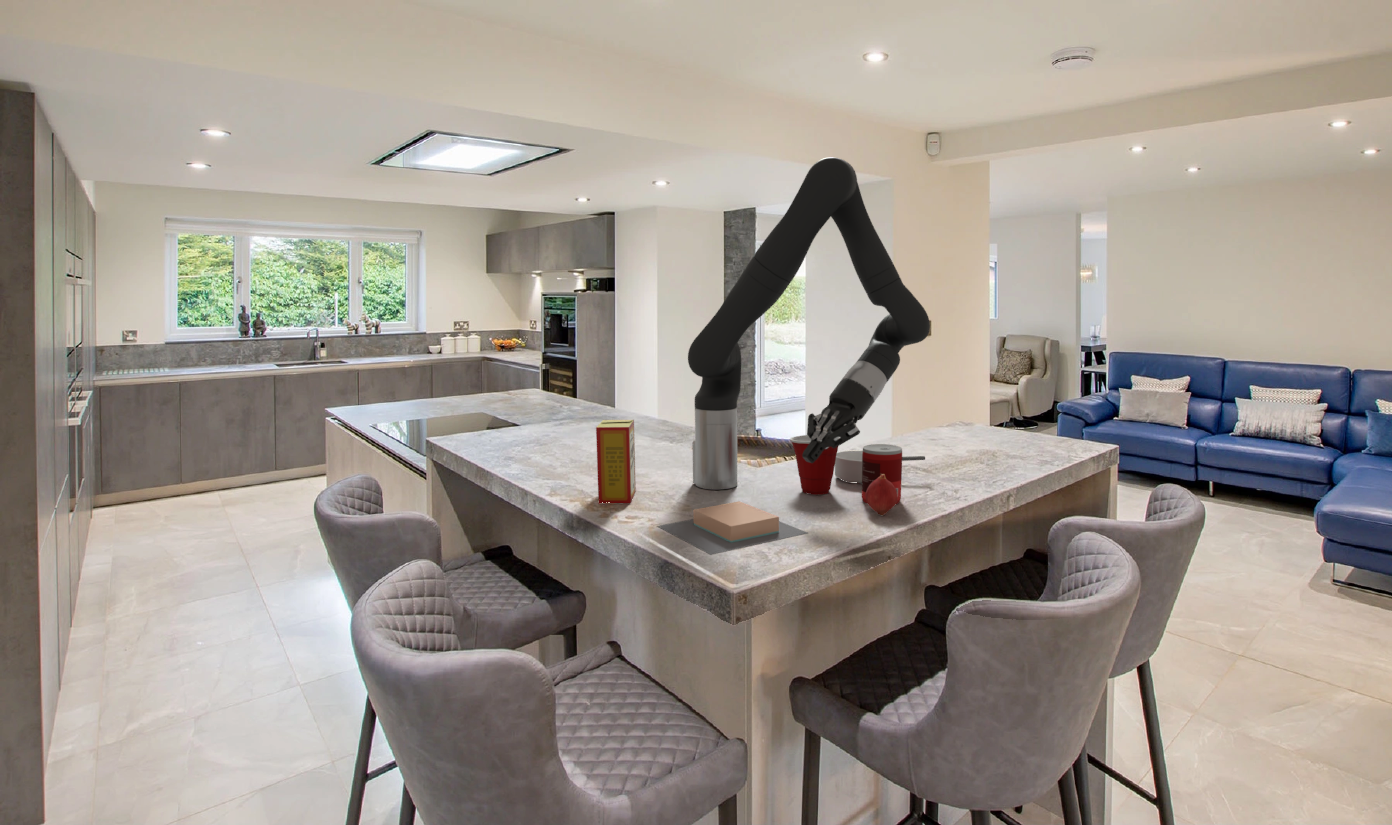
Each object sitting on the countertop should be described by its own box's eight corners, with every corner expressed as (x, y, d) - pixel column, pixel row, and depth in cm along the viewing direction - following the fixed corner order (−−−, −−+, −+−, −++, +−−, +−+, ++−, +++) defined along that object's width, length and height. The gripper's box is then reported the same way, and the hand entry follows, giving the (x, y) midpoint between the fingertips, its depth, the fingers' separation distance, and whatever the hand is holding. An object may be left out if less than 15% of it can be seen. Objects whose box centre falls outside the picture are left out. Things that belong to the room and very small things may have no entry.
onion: (858, 514, 141) (859, 473, 140) (877, 509, 145) (878, 468, 144) (884, 521, 137) (885, 478, 136) (903, 515, 140) (904, 473, 139)
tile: (739, 515, 140) (693, 524, 135) (739, 501, 139) (693, 509, 134) (778, 532, 130) (730, 542, 124) (778, 516, 129) (730, 526, 124)
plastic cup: (811, 482, 166) (812, 429, 164) (851, 491, 158) (852, 435, 156) (778, 491, 159) (778, 435, 157) (818, 501, 151) (819, 442, 149)
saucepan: (928, 487, 161) (929, 462, 160) (833, 485, 164) (834, 460, 163) (920, 474, 172) (921, 451, 172) (832, 473, 175) (832, 449, 175)
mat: (656, 528, 134) (656, 525, 134) (748, 511, 144) (748, 508, 144) (710, 557, 119) (710, 554, 119) (808, 535, 129) (808, 532, 129)
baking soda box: (630, 503, 151) (628, 425, 149) (598, 503, 151) (596, 425, 149) (635, 491, 160) (633, 417, 158) (605, 491, 160) (603, 418, 158)
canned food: (903, 498, 152) (905, 445, 151) (896, 508, 145) (898, 452, 144) (866, 494, 156) (867, 442, 154) (857, 504, 148) (858, 449, 147)
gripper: (825, 373, 147) (774, 441, 143) (873, 380, 136) (819, 454, 132) (844, 398, 151) (795, 465, 146) (893, 407, 140) (841, 479, 135)
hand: (807, 459), depth 139 cm, fingers closed
